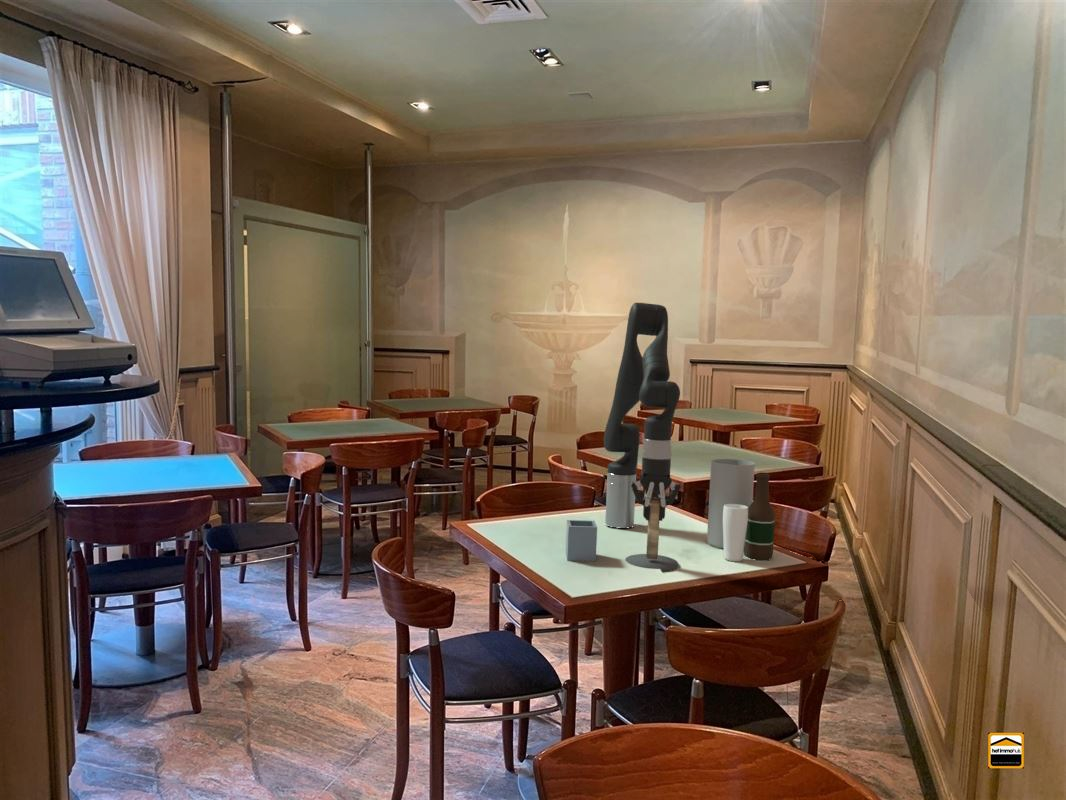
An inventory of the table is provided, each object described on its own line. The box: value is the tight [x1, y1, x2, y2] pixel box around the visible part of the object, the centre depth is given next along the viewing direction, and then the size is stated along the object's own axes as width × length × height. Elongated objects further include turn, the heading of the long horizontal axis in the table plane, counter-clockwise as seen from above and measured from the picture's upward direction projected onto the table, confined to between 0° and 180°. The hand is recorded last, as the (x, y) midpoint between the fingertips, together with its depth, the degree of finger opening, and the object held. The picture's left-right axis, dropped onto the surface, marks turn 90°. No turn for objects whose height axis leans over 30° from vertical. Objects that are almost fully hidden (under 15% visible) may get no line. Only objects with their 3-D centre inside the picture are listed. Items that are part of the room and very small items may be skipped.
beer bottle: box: [743, 472, 776, 561], centre depth 219 cm, size 8×8×24 cm
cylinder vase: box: [706, 458, 755, 550], centre depth 232 cm, size 12×12×25 cm
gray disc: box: [625, 553, 679, 572], centre depth 209 cm, size 14×14×1 cm
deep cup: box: [565, 519, 598, 562], centre depth 210 cm, size 8×8×10 cm
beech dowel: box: [646, 497, 661, 559], centre depth 208 cm, size 3×3×16 cm
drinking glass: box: [723, 504, 748, 562], centre depth 216 cm, size 7×7×15 cm
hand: (653, 519), depth 208 cm, fingers closed on beech dowel, 3 cm apart
